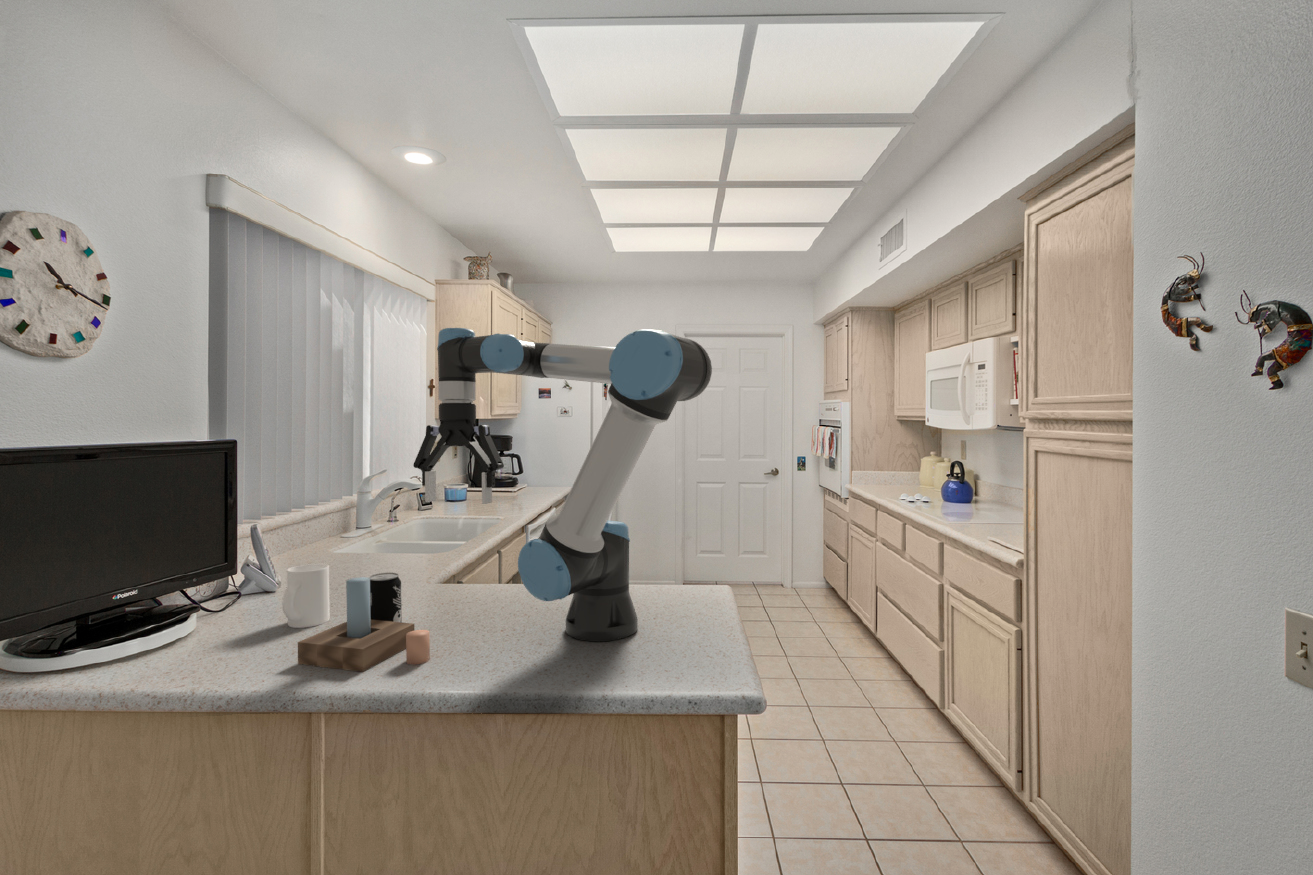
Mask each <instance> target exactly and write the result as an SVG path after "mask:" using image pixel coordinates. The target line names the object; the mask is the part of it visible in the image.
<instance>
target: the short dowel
mask: <svg viewBox="0 0 1313 875" xmlns="http://www.w3.org/2000/svg"><path fill="white" fill-rule="evenodd" d="M430 633H431V632H430V631H429V630H428V629H416V630H415V629H414V631H411V632H408V633H407V634H406V649H405V650H406V655H405V656H406V657H405V658H406V664H408V665H415V666H416V665H421V664H425V663H427V662H429V661H430V659H431V653H430V652H431V651H430V650H431V649H430V647H431V642H430V641H431V639H430V637H431V636H430Z"/></svg>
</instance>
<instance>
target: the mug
mask: <svg viewBox="0 0 1313 875" xmlns="http://www.w3.org/2000/svg"><path fill="white" fill-rule="evenodd" d="M281 602H282V603H281V604H282V605H281V606H282V612H283V614H284V615H285V617H286V618H287V625H288V627H289V628H294V629H295V628H296V629H303V628H304V629H305V628H310V627H316V626H321V625H323V624H325V623H327V622H328V621H329V620H330V613H331V610H330V606H331V605H330V566H329V564H326V563H308V564H300V565H295V566H292V567H289V568H287V570H286V589H285V591H284V593H283V597H282V601H281Z"/></svg>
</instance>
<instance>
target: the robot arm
mask: <svg viewBox="0 0 1313 875" xmlns="http://www.w3.org/2000/svg"><path fill="white" fill-rule="evenodd" d="M436 349H437V350H436V351H437V365H438V366H437V367H438V368H437V369H438V370H437V372H438V374H437V375H438V378H437V379H438V386H437V388H438V400H439V401H440V402H441V403H439V404H438V420H439V425H436V424H435V425H434V424H432V425H431V424H430V425H429V424H428V425H426V428H425V436H424V439H423V441H422V443H421V445H420V447H419V451H418V452H417V455H416V456H415V460H414V462H413V465H412V466H413V468H414V469H418V470H420V471H421V477H422V478H421V484H422V487H424V493H425V494H424V497H425V498H424V501H425V502H426V503H430V502H435V501H437V477H436V476H437V472H436V470H434V468H435V466H436V464H437V463H438V462H439V460H440V459H441V458H442V457H443V455H444V454H445V452H446V451H447V450H448V448H450V447H465V448H467V449H468V450H469V451H470V453H471V454H472V455H473V457H474V458H475V459H476V461H477V462H478V463H479V464H480V466H481V467H482V469H483V470H484V471H483V472H481V505H487V504H490V503H493V488H495V486H496V472H497V471H498V470H500V469H504V468H505V467H504V466H505V465H504V462H503V460H502V458H501V456H500V454H499V451H498V449H497V447H496V445H495V443H494V440H493V438H492V437H491V430H490V426H489V424H479V425H478V426H476V420H477V405H476V403H474V402H475V401H476V400H477V399H476V397H477V396H476V393H477V392H476V387H477V386H476V385H477V384H476V381H477V380H476V374H484V373H485V374H491V373H493V374H494V373H496V374H502V375H503V374H504V375H516V376H525V377H531V378H532V377H533V378H540V379H556V380H566V381H575V382H586V383H598V384H599V383H600V384H609V385H610V386H609V388H608V390H607V393H608V396H609V399H610V404H611V405H610V406H609V408H608V410H607V413H606V414H605V417H604V419H603V421H602V424H601V425H600V427H599V429H598V432H597V433H596V436H595V438H594V440H593V442H592V444H591V446H590V449H588V450H589V451H588V453H587V455H586V457H585V459H584V462H583V463H582V465H581V467H580V469H579V471H578V474H577V476H576V477H575V480H574V483H573V484H572V486H571V488H570V491H569V492H568V495H567V496H566V500H565V501H564V503H563V506H562V508H561V510H560V512H559V513H557V514H553V515H551V516H549V518H547V519H546V523H545V524H544V526H543V528H542V531H541V532H540V534H539V536H538V538H533V539H531V540H529V541H528V542H526V543H525V544H524V545H523V546H522V548H521V549H520V550H519V553H518V557H517V569H518V573H519V575H520V580H521V582H522V585H523V586H524V587H525V589H526V591H527V592H528V593H529V594H530V595H532V596H533V597H534V598H536V599H538V600H539V601H543V602H552V601H557V600H562V599H565V598H567V597H569V596H571V595H572V597H571V602H570V605H569V607H568V611H567V614H566V618H565V633H566V634H567V635H568V636H569V637H572V638H574V639H576V640H581V641H586V642H587V641H588V642H609V641H617V640H621V639H625V638H627V637H630V636H633V635H634V634H635V633H636V632H637V631H638V628H639V627H638V620H639V619H638V615H637V612H636V609H635V606H634V603H633V599H632V597H631V594H630V542H631V539H630V537H629V533H630V532H629V527H628V525H627V523H625V522H622V521H616V520H609V518H610V516H611V514H612V513H613V510H614V509H615V507H616V504H617V502H618V500H619V498H620V497H621V494H622V492H623V490H624V488H625V487H626V484H627V483H628V480H629V479H630V476H631V474H632V473H633V470H634V468H635V466H636V464H637V462H638V460H639V459H640V457H641V455H642V452H643V451H644V449H645V446H646V445H647V443H648V440H649V438H650V437H651V435H652V434H653V431H654V429H655V427H656V426H657V425H659V424H661V423H665V422H667V421H668V420H669V418H670V416H671V414H672V412H673V410H674V409H675V407H676V405H677V403H678V402H685V401H686V402H687V401H690V400H692V399H695V398H697V397H698V396H700V395H701V394H703V392H704V391H705V390H706V389H707V387H708V386H709V383H710V381H711V378H712V374H713V371H712V370H713V366H712V360H711V358H710V356H709V354H708V352H707V350H706V349H705V348H704V347H703V346H702V345H701V344H700V343H698V342H697V341H695V340H693V339H690V338H686V337H683V336H678V335H676V334H671V333H669V332H666V331H664V330H661V329H648V328H647V329H639V330H635V331H632V332H630V333H628V334H626V335H625V336H624V337H623V338H621V340H619V341H618V343H616V346H598V345H597V346H596V345H581V344H580V345H579V344H578V345H577V344H561V343H547V342H545V343H544V342H534V341H533V342H532V341H527V340H522V339H519V338H517V337H516V336H514V335H513V334H512V333H511V334H510V333H494V334H490V335H481V336H476V333H475V331H474V330H473V329H469V328H463V327H446V328H442V329H440V330H439V332H438V339H437V348H436ZM476 434H477V435H478V437H479V440H480V442H481V444H482V446H483V448H484V450H485V451H484V450H483V448H482V447H481V446H480V443H479V441H478V440H477V438H476V437H475V436H476ZM439 435H440V438H439V440H438V441H437V438H438V436H439ZM436 441H437V442H436ZM435 443H436V445H435ZM434 446H435V447H434Z"/></svg>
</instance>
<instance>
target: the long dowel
mask: <svg viewBox="0 0 1313 875" xmlns="http://www.w3.org/2000/svg"><path fill="white" fill-rule="evenodd" d="M345 582H346V583H345V584H346V586H345V587H346V622H347V637H348V638H358V639H361V638H363V637H365V636H367V635H369V634H371V621H370V578H369V577H367V576H366V577H365V576H361V577H353V578H350V579H347V580H346V581H345Z"/></svg>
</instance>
